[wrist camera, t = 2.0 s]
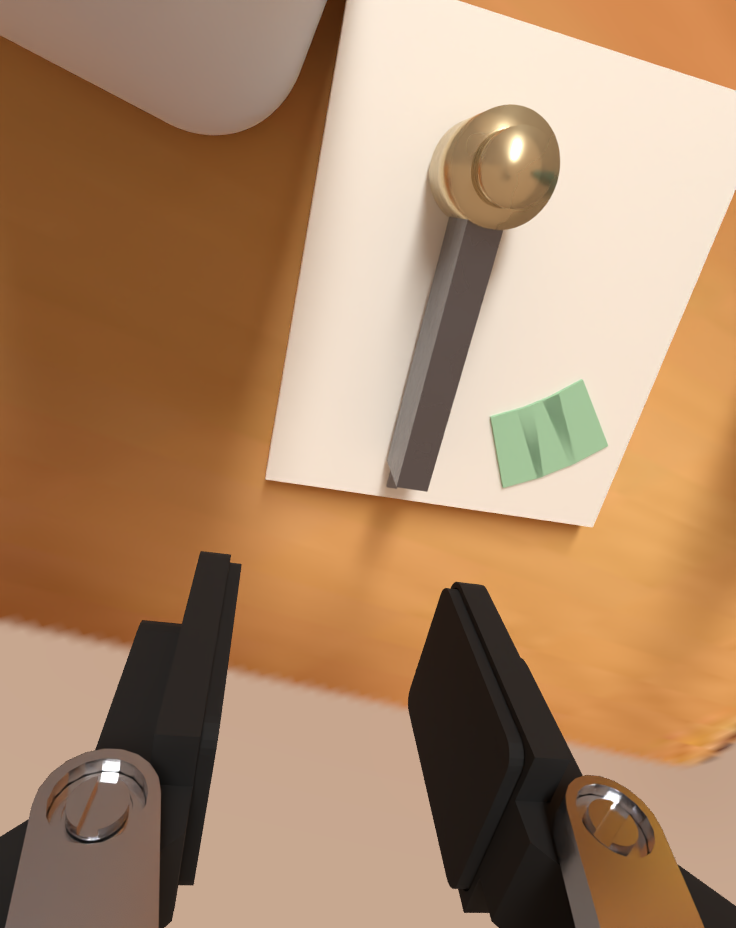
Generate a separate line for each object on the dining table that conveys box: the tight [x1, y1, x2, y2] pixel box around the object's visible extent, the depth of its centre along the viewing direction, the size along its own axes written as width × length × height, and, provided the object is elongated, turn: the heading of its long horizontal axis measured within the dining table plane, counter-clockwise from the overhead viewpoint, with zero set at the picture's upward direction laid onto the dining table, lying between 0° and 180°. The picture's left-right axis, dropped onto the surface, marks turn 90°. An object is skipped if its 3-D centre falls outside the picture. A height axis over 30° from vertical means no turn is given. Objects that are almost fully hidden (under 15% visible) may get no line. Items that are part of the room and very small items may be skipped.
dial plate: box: [265, 0, 736, 527], centre depth 30 cm, size 23×20×2 cm
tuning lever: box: [387, 104, 560, 492], centre depth 27 cm, size 17×4×6 cm, turn 168°
